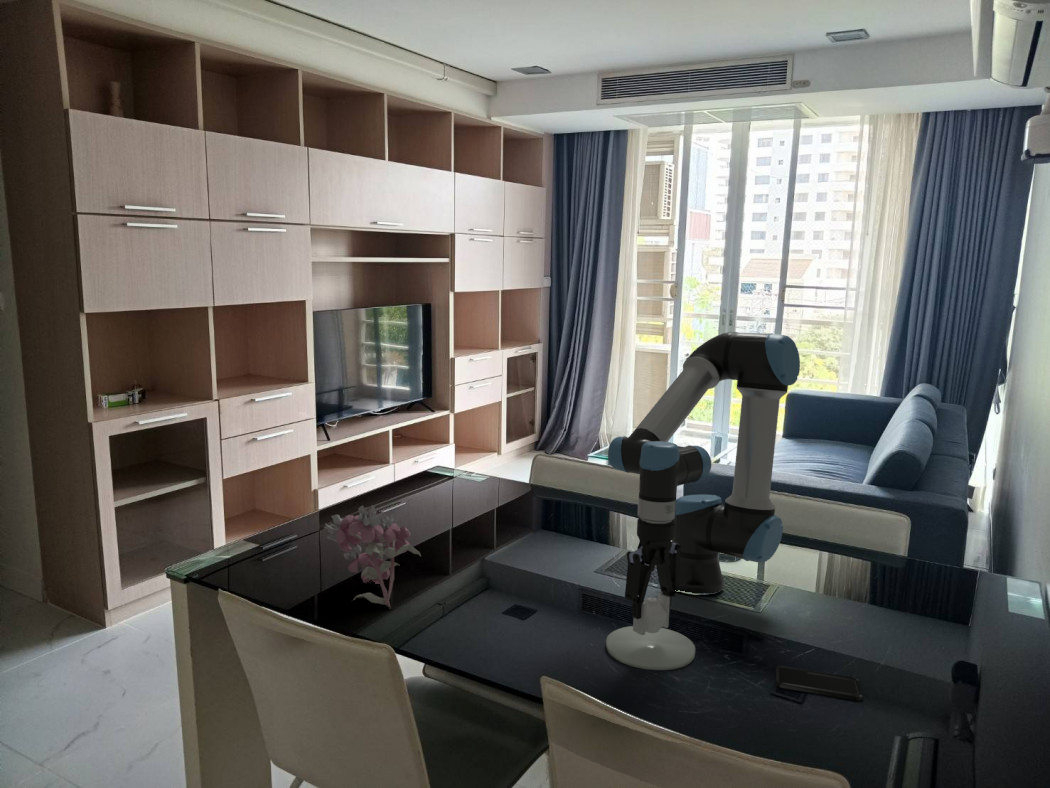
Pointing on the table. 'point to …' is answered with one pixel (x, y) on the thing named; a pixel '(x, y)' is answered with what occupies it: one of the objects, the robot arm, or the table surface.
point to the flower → (371, 546)
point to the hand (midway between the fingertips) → (650, 628)
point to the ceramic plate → (650, 649)
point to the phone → (818, 683)
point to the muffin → (654, 615)
